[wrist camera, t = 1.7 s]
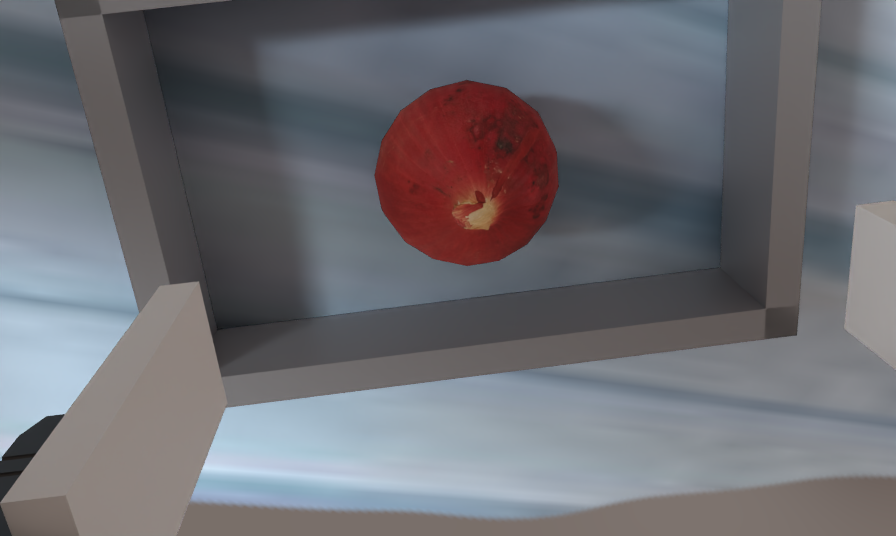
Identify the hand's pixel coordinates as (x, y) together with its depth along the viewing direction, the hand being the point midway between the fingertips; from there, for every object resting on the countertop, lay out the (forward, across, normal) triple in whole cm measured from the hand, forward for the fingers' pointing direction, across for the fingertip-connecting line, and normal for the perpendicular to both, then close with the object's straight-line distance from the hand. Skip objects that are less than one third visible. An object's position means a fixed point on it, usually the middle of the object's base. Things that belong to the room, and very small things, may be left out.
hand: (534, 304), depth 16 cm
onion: (+14, 0, 0) cm, 14 cm away
